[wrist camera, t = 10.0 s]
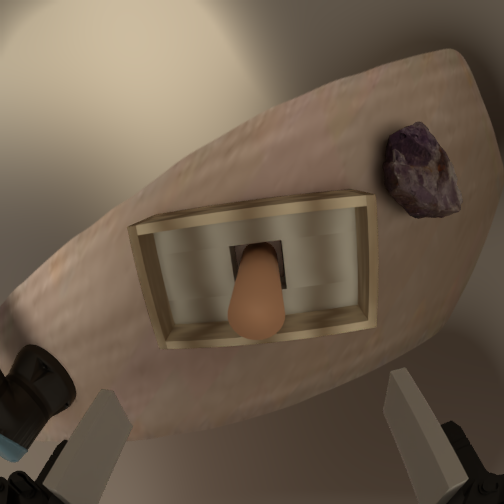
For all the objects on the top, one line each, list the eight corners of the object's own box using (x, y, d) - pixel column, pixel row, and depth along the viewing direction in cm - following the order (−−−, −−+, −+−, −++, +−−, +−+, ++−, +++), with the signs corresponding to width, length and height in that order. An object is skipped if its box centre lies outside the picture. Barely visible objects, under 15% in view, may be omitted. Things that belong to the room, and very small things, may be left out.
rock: (406, 125, 31) (351, 163, 33) (434, 104, 23) (370, 148, 24) (452, 199, 32) (401, 242, 33) (489, 197, 23) (432, 249, 25)
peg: (244, 275, 36) (232, 342, 22) (239, 242, 35) (223, 292, 20) (278, 271, 36) (287, 336, 21) (274, 238, 35) (282, 286, 20)
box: (177, 317, 38) (159, 349, 30) (155, 214, 34) (127, 226, 27) (356, 297, 36) (376, 326, 28) (351, 189, 33) (375, 194, 25)
